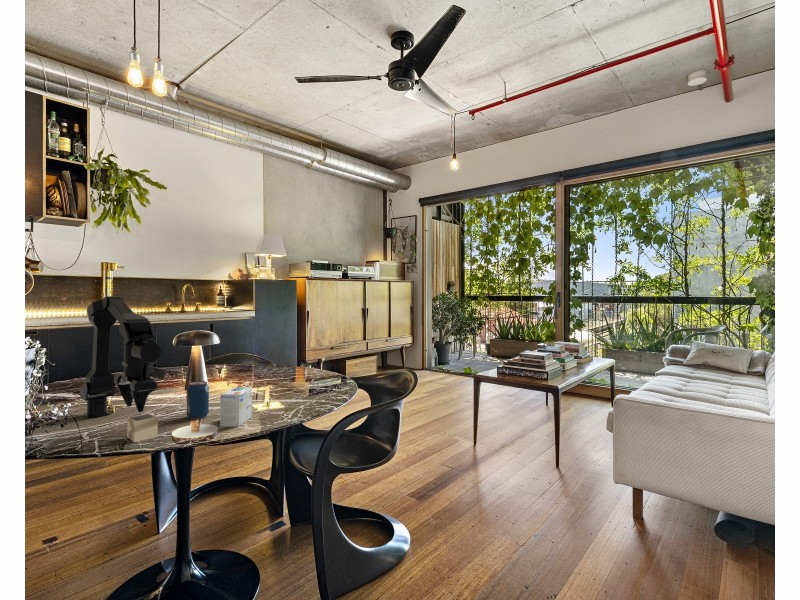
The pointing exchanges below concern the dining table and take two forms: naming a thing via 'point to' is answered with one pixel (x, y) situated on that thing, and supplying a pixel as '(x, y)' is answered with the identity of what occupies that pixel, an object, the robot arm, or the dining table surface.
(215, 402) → the dining table surface
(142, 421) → the maple block
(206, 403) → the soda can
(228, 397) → the light bulb box
